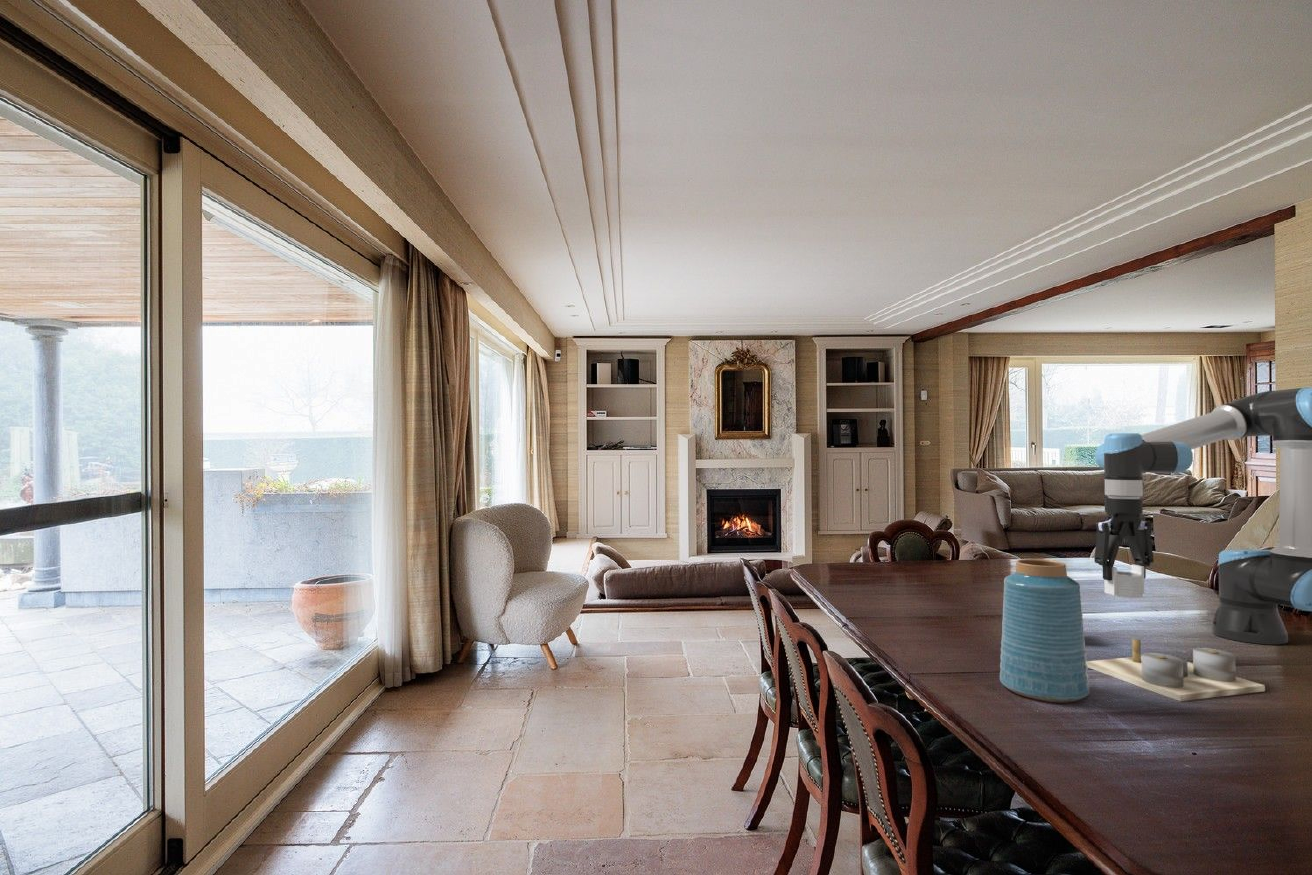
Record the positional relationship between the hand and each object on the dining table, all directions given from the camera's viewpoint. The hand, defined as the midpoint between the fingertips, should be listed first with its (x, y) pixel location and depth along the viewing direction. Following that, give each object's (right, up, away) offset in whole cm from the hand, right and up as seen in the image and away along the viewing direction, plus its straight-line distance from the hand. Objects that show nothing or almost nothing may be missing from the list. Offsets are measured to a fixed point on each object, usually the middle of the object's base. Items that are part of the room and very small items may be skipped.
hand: (1124, 593), depth 161 cm
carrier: (0, -15, -14) cm, 21 cm away
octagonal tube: (0, 0, 0) cm, 0 cm away
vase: (-31, -16, -20) cm, 40 cm away
